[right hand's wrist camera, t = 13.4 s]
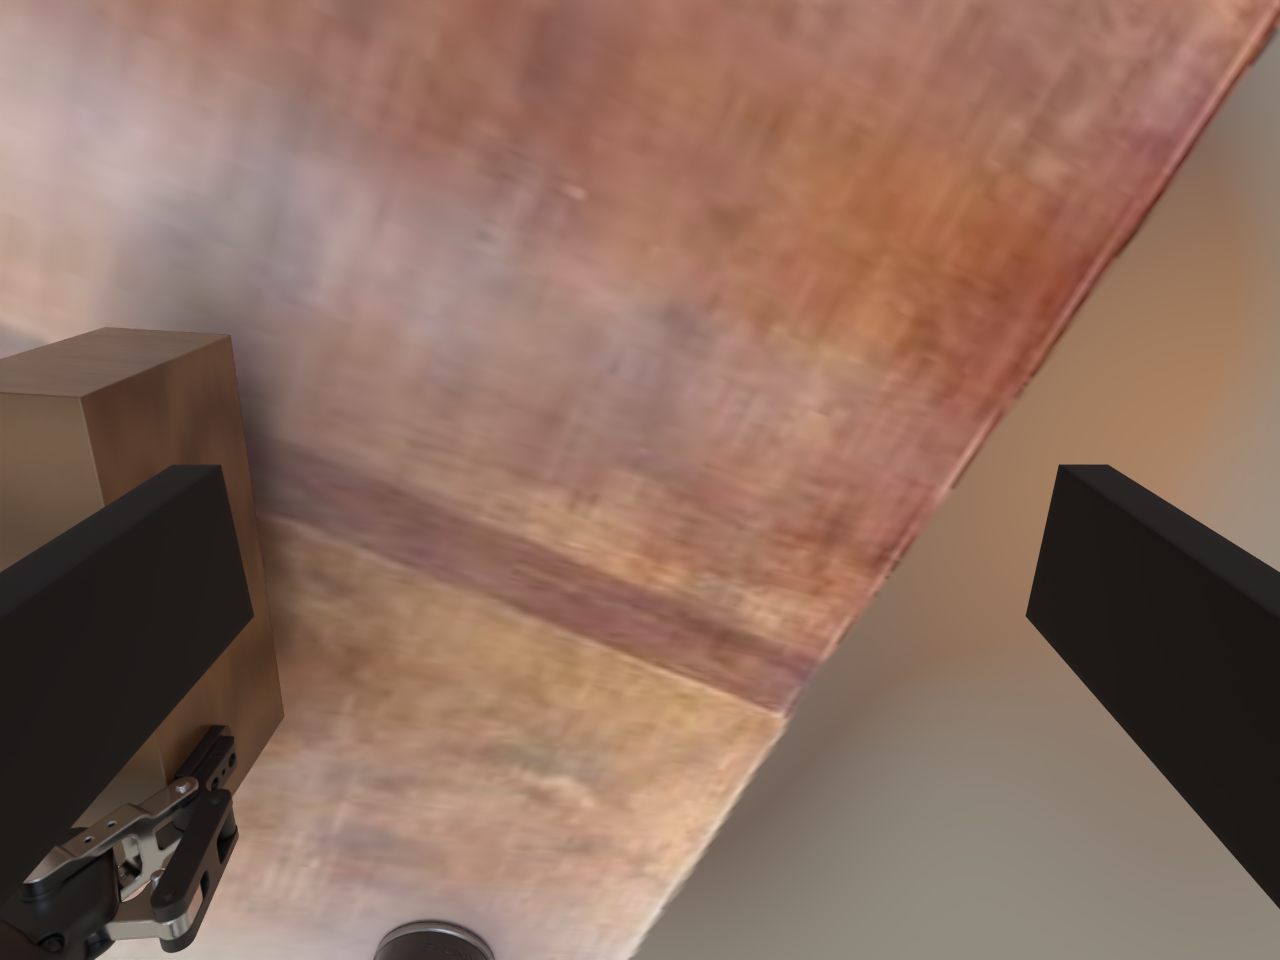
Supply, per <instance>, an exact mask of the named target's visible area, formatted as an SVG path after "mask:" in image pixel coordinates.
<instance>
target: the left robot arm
mask: <svg viewBox="0 0 1280 960" xmlns="http://www.w3.org/2000/svg"><path fill="white" fill-rule="evenodd" d="M237 764H238V755H237V749H236V743H235V737H234V736H232V735H231V729H230V727H229V726H228V725H213V726H212V727H211V728H210V729H209V730H208V732H207V733H206V734H205V736H204V737H203V738H202V740H201V741H200V742H199V743H198V745H197V746H196V747H195V749H194V750H193V751H192V753H191V754H190V755H189V757H188V758H187V759H186V760H185V762H184V763H183V764H182V766H181V767H180V768H179V770H178V771H177V772H176V774H175V775H174V776H175V781H173V782H172V783H170V784H169V785H167V786H166V787H164V788H163V789H162V790H160V791H159V792H157V793H156V794H154V795H153V796H151V797H150V798H148V799H147V800H145V801H144V802H142V803H141V804H139V805H133V804H131V803H128V804H124V805H122V806H121V807H119V808H118V809H116V810H115V811H113V812H112V813H110V814H109V815H107V816H106V817H104V818H103V819H101V820H100V821H98V822H96V823H95V824H93V825H92V826H90V827H77V828H70V829H69V830H68V831H67V833H66V834H65V835H64V836H63V837H62V838H61V840H60V841H59V842H58V843H57V844H56V845H55V846H54V848H53V849H52V850H51V851H50V852H49V853H48V855H47V856H46V857H45V858H44V859H43V860H42V861H41V863H40V864H39V865H38V866H37V867H36V868H35V870H34V871H33V872H32V873H31V874H30V875H29V876H28V878H27V879H26V880H25V881H24V882H23V883H22V884H21V886H20V887H19V888H18V889H17V890H16V891H15V893H14V894H13V895H12V896H11V897H10V898H9V899H8V901H7V902H6V903H5V904H4V905H3V906H2V908H1V909H0V960H95V959H96V958H97V957H99V956H100V955H101V954H103V953H104V952H105V951H106V950H108V949H109V948H110V947H111V946H112V945H113V944H114V942H115V941H116V940H126V939H140V938H155V937H158V938H159V939H160V943H161V947H162V949H163V950H164V951H165V952H168V953H174V952H178V951H181V950H183V949H185V948H186V947H188V946H189V945H190V944H191V943H192V942H193V940H194V939H195V937H196V934H197V932H198V930H199V928H200V925H201V923H202V921H203V918H204V916H205V914H206V911H207V909H208V907H209V904H210V902H211V900H212V898H213V895H214V893H215V891H216V888H217V886H218V884H219V881H220V879H221V877H222V875H223V872H224V870H225V868H226V865H227V863H228V861H229V858H230V856H231V854H232V851H233V849H234V847H235V845H236V842H237V840H238V837H239V834H238V829H237V825H236V824H235V818H234V813H233V807H232V805H233V801H232V796H231V792H230V791H229V790H227V789H222V788H223V787H224V785H225V784H226V782H227V780H228V779H229V778H230V776H231V774H232V773H233V772H234V770H235V769H236V767H237ZM170 815H171V816H172V821H171V822H169V823H168V824H167V825H165V826H164V827H162V828H161V829H160V830H158V831H157V832H155V829H156V827H157V825H158V824H159V823H160V822H162V821H163V820H165V819H166V818H167V817H169V816H170ZM120 841H122V843H123V847H124V851H125V859H124V861H123V863H122V864H121V866H120V867H119V868H118V865H117V862H116V858H115V854H114V850H113V846H114V845H116V844H117V843H119V842H120ZM173 852H174V853H173ZM172 853H173V855H172V857H171V859H170V861H169V863H168V865H167V867H166V869H165V871H164V870H160V869H161V868H162V865H163V862H164V860H165V859H166V858H167V857H168V856H169V855H170V854H172ZM150 879H151V882H150V883H148V885H147V886H146V887H145V888H144V890H143V891H142V892H141V893H140V894H139V895H138V896H136V897H135V898H133V899H131V900H128V901H125V902H122V901H123V900H124V899H126V898H127V897H128V896H130V895H131V894H132V893H133V892H135V891H136V890H137V889H139V888H140V887H141V886H143V885H144V884H145V883H147V882H148V881H149V880H150ZM374 960H494V958H493V955H492V953H491V951H490V950H489V948H488V947H487V946H486V945H485V944H484V943H483V942H482V941H481V940H480V939H479V938H478V937H476V936H475V935H473V934H472V933H470V932H468V931H466V930H464V929H461V928H459V927H456V926H453V925H448V924H443V923H435V922H424V923H415V924H410V925H407V926H404V927H401V928H399V929H397V930H395V931H393V932H391V933H390V934H389V935H387V936H386V937H385V938H384V939H383V940H382V941H381V943H380V944H379V946H378V948H377V950H376V953H375V956H374Z"/></svg>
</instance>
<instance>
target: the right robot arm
mask: <svg viewBox="0 0 1280 960" xmlns="http://www.w3.org/2000/svg"><path fill="white" fill-rule="evenodd" d="M253 617H254V612H253V608H252V603H251V599H250V594H249V590H248V585H247V581H246V576H245V571H244V567H243V562H242V558H241V553H240V549H239V544H238V540H237V535H236V530H235V526H234V521H233V517H232V512H231V508H230V503H229V499H228V494H227V490H226V485H225V480H224V476H223V471H222V467H221V465H171V466H169V467H168V468H166V469H164V470H163V471H161V472H160V473H158V474H156V475H155V476H153V477H152V478H150V479H148V480H147V481H145V482H144V483H142V484H140V485H139V486H137V487H136V488H134V489H132V490H131V491H129V492H128V493H126V494H124V495H123V496H121V497H120V498H118V499H117V500H115V501H113V502H112V503H110V504H109V505H107V506H105V507H104V508H102V509H101V510H99V511H97V512H96V513H94V514H93V515H91V516H89V517H88V518H86V519H85V520H83V521H81V522H80V523H78V524H77V525H75V526H73V527H72V528H70V529H69V530H67V531H65V532H64V533H62V534H61V535H59V536H57V537H56V538H54V539H53V540H51V541H49V542H48V543H46V544H45V545H43V546H42V547H40V548H38V549H37V550H35V551H34V552H32V553H30V554H29V555H27V556H26V557H24V558H22V559H21V560H19V561H18V562H16V563H14V564H13V565H11V566H10V567H8V568H6V569H5V570H3V571H2V572H0V909H1V908H2V906H3V905H4V904H5V903H6V902H7V901H8V899H9V898H10V897H11V896H12V895H13V894H14V893H15V891H16V890H17V889H18V888H19V887H20V886H21V884H22V883H23V882H24V881H25V880H26V879H27V878H28V876H29V875H30V874H31V873H32V872H33V871H34V870H35V868H36V867H37V866H38V865H39V864H40V863H41V861H42V860H43V859H44V858H45V857H46V856H47V855H48V853H49V852H50V851H51V850H52V849H53V848H54V846H55V845H56V844H57V843H58V842H59V841H60V840H61V838H62V837H63V836H64V835H65V834H66V833H67V831H68V830H69V829H70V828H71V827H72V826H73V825H74V823H75V822H76V821H77V820H78V819H79V818H80V816H81V815H82V814H83V813H84V812H85V811H86V810H87V808H88V807H89V806H90V805H91V804H92V803H93V801H94V800H95V799H96V798H97V797H98V796H99V795H100V793H101V792H102V791H103V790H104V789H105V788H106V787H107V785H108V784H109V783H110V782H111V781H112V780H113V778H114V777H115V776H116V775H117V774H118V773H119V772H120V770H121V769H122V768H123V767H124V766H125V765H126V763H127V762H128V761H129V760H130V759H131V758H132V757H133V755H134V754H135V753H136V752H137V751H138V750H139V748H140V747H141V746H142V745H143V744H144V743H145V742H146V740H147V739H148V738H149V737H150V736H151V735H152V733H153V732H154V731H155V730H156V729H157V728H158V727H159V725H160V724H161V723H162V722H163V721H164V720H165V718H166V717H167V716H168V715H169V714H170V713H171V712H172V710H173V709H174V708H175V707H176V706H177V705H178V703H179V702H180V701H181V700H182V699H183V698H184V697H185V695H186V694H187V693H188V692H189V691H190V690H191V689H192V687H193V686H194V685H195V684H196V683H197V682H198V680H199V679H200V678H201V677H202V676H203V675H204V674H205V672H206V671H207V670H208V669H209V668H210V667H211V665H212V664H213V663H214V662H215V661H216V660H217V659H218V657H219V656H220V655H221V654H222V653H223V652H224V650H225V649H226V648H227V647H228V646H229V645H230V644H231V642H232V641H233V640H234V639H235V638H236V637H237V635H238V634H239V633H240V632H241V631H242V630H243V629H244V627H245V626H246V625H247V624H248V623H249V622H250V620H251V619H252V618H253ZM1026 617H1027V618H1028V619H1029V620H1030V622H1031V623H1032V624H1033V625H1034V626H1035V627H1036V629H1037V630H1038V631H1039V632H1040V633H1041V634H1042V635H1043V637H1044V638H1045V639H1046V640H1047V641H1048V642H1049V644H1050V645H1051V646H1052V647H1053V648H1054V649H1055V650H1056V652H1057V653H1058V654H1059V655H1060V656H1061V657H1062V659H1063V660H1064V661H1065V662H1066V663H1067V664H1068V665H1069V667H1070V668H1071V669H1072V670H1073V671H1074V672H1075V674H1076V675H1077V676H1078V677H1079V678H1080V679H1081V680H1082V682H1083V683H1084V684H1085V685H1086V686H1087V687H1088V689H1089V690H1090V691H1091V692H1092V693H1093V694H1094V695H1095V697H1096V698H1097V699H1098V700H1099V701H1100V702H1101V703H1102V705H1103V706H1104V707H1105V708H1106V709H1107V710H1108V712H1109V713H1110V714H1111V715H1112V716H1113V717H1114V718H1115V720H1116V721H1117V722H1118V723H1119V724H1120V725H1121V727H1122V728H1123V729H1124V730H1125V731H1126V732H1127V733H1128V735H1129V736H1130V737H1131V738H1132V739H1133V740H1134V742H1135V743H1136V744H1137V745H1138V746H1139V747H1140V748H1141V750H1142V751H1143V752H1144V753H1145V754H1146V755H1147V757H1148V758H1149V759H1150V760H1151V761H1152V762H1153V763H1154V765H1155V766H1156V767H1157V768H1158V769H1159V770H1160V771H1161V773H1162V774H1163V775H1164V776H1165V777H1166V778H1167V780H1168V781H1169V782H1170V783H1171V784H1172V785H1173V787H1174V788H1175V789H1176V790H1177V791H1178V792H1179V793H1180V795H1181V796H1182V797H1183V798H1184V799H1185V800H1186V801H1187V803H1188V804H1189V805H1190V806H1191V807H1192V808H1193V809H1194V811H1195V812H1196V813H1197V814H1198V815H1199V816H1200V818H1201V819H1202V820H1203V821H1204V822H1205V823H1206V824H1207V826H1208V827H1209V828H1210V829H1211V830H1212V831H1213V833H1214V834H1215V835H1216V836H1217V837H1218V838H1219V839H1220V841H1221V842H1222V843H1223V844H1224V845H1225V846H1226V848H1227V849H1228V850H1229V851H1230V852H1231V853H1232V855H1233V856H1234V857H1235V858H1236V859H1237V860H1238V861H1239V863H1240V864H1241V865H1242V866H1243V867H1244V868H1245V870H1246V871H1247V872H1248V873H1249V874H1250V875H1251V876H1252V878H1253V879H1254V880H1255V881H1256V882H1257V883H1258V884H1259V886H1260V887H1261V888H1262V889H1263V890H1264V891H1265V893H1266V894H1267V895H1268V896H1269V897H1270V898H1271V899H1272V901H1273V902H1274V903H1275V904H1276V905H1277V906H1278V908H1279V909H1280V572H1278V571H1277V570H1275V569H1274V568H1272V567H1270V566H1269V565H1267V564H1266V563H1264V562H1262V561H1261V560H1259V559H1258V558H1256V557H1254V556H1253V555H1251V554H1250V553H1248V552H1246V551H1245V550H1243V549H1242V548H1240V547H1238V546H1237V545H1235V544H1234V543H1232V542H1231V541H1229V540H1227V539H1226V538H1224V537H1223V536H1221V535H1219V534H1218V533H1216V532H1215V531H1213V530H1211V529H1210V528H1208V527H1207V526H1205V525H1203V524H1202V523H1200V522H1199V521H1197V520H1195V519H1194V518H1192V517H1191V516H1189V515H1187V514H1186V513H1184V512H1183V511H1181V510H1179V509H1178V508H1176V507H1175V506H1173V505H1171V504H1170V503H1168V502H1167V501H1165V500H1163V499H1162V498H1160V497H1159V496H1157V495H1156V494H1154V493H1152V492H1151V491H1149V490H1147V489H1146V488H1144V487H1143V486H1141V485H1139V484H1138V483H1136V482H1135V481H1133V480H1132V479H1130V478H1128V477H1127V476H1125V475H1124V474H1122V473H1120V472H1119V471H1117V470H1116V469H1114V468H1112V467H1111V466H1109V465H1059V467H1058V471H1057V476H1056V480H1055V485H1054V490H1053V494H1052V499H1051V503H1050V508H1049V512H1048V517H1047V521H1046V526H1045V530H1044V535H1043V540H1042V544H1041V549H1040V553H1039V558H1038V562H1037V567H1036V571H1035V576H1034V581H1033V585H1032V590H1031V594H1030V599H1029V604H1028V608H1027V613H1026Z"/></svg>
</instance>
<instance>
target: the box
mask: <svg viewBox="0 0 1280 960" xmlns="http://www.w3.org/2000/svg"><path fill="white" fill-rule="evenodd" d="M171 465H221V467H222V471H223V476H224V480H225V485H226V490H227V494H228V499H229V503H230V508H231V512H232V517H233V521H234V526H235V530H236V535H237V540H238V544H239V549H240V553H241V558H242V562H243V567H244V571H245V576H246V581H247V585H248V590H249V594H250V599H251V603H252V608H253V612H254V617H253V618H252V619H251V620H250V622H249V623H248V624H247V625H246V626H245V627H244V629H243V630H242V631H241V632H240V633H239V634H238V635H237V637H236V638H235V639H234V640H233V641H232V642H231V644H230V645H229V646H228V647H227V648H226V649H225V650H224V652H223V653H222V654H221V655H220V656H219V657H218V659H217V660H216V661H215V662H214V663H213V664H212V665H211V667H210V668H209V669H208V670H207V671H206V672H205V674H204V675H203V676H202V677H201V678H200V679H199V680H198V682H197V683H196V684H195V685H194V686H193V687H192V689H191V690H190V691H189V692H188V693H187V694H186V695H185V697H184V698H183V699H182V700H181V701H180V702H179V703H178V705H177V706H176V707H175V708H174V709H173V710H172V712H171V713H170V714H169V715H168V716H167V717H166V718H165V720H164V721H163V722H162V723H161V724H160V725H159V727H158V728H157V729H156V730H155V731H154V732H153V733H152V735H151V736H150V737H149V738H148V739H147V740H146V742H145V743H144V744H143V745H142V746H141V747H140V748H139V750H138V751H137V752H136V753H135V754H134V755H133V757H132V758H131V759H130V760H129V761H128V762H127V763H126V765H125V766H124V767H123V768H122V769H121V770H120V772H119V773H118V774H117V775H116V776H115V777H114V778H113V780H112V781H111V782H110V783H109V784H108V785H107V787H106V788H105V789H104V790H103V791H102V792H101V793H100V795H99V796H98V797H97V798H96V799H95V800H94V801H93V803H92V804H91V805H90V806H89V807H88V808H87V810H86V811H85V812H84V813H83V814H82V815H81V816H80V818H79V819H78V820H77V821H76V822H75V823H74V825H73V826H72V827H71V828H77V827H90V826H92V825H93V824H95V823H96V822H98V821H100V820H101V819H103V818H104V817H106V816H107V815H109V814H110V813H112V812H113V811H115V810H116V809H118V808H119V807H121V806H122V805H124V804H128V803H131V804H133V805H139V804H141V803H142V802H144V801H145V800H147V799H148V798H150V797H151V796H153V795H154V794H156V793H157V792H159V791H160V790H162V789H163V788H164V787H166V786H167V785H169V784H170V783H172V782H173V781H175V776H174V775H175V774H176V772H177V771H178V770H179V768H180V767H181V766H182V764H183V763H184V762H185V760H186V759H187V758H188V757H189V755H190V754H191V753H192V751H193V750H194V749H195V747H196V746H197V745H198V743H199V742H200V741H201V740H202V738H203V737H204V736H205V734H206V733H207V732H208V730H209V729H210V728H211V727H212V726H213V725H228V726H229V727H230V729H231V735H232V736H234V737H235V743H236V749H237V755H238V764H237V767H236V769H235V770H234V772H233V773H232V774H231V776H230V778H229V779H228V780H227V782H226V784H225V785H224V787H223V788H222V789H227V790H229V791H230V792H231V796H232V797H233V795H234V794H235V792H236V791H237V789H238V788H239V786H240V784H241V783H242V781H243V780H244V778H245V777H246V775H247V774H248V772H249V771H250V769H251V767H252V766H253V764H254V763H255V761H256V760H257V758H258V757H259V755H260V753H261V752H262V750H263V749H264V747H265V746H266V744H267V743H268V741H269V739H270V738H271V736H272V735H273V733H274V732H275V730H276V729H277V727H278V725H279V724H280V722H281V721H282V719H283V718H284V711H283V704H282V697H281V690H280V683H279V676H278V669H277V661H276V654H275V647H274V640H273V633H272V626H271V619H270V612H269V605H268V598H267V591H266V584H265V576H264V569H263V562H262V555H261V548H260V541H259V534H258V527H257V520H256V513H255V506H254V498H253V491H252V484H251V477H250V470H249V463H248V456H247V449H246V442H245V435H244V428H243V421H242V413H241V406H240V399H239V392H238V385H237V378H236V371H235V364H234V357H233V350H232V343H231V336H230V335H221V334H205V333H189V332H174V331H158V330H142V329H126V328H110V327H105V328H101V329H98V330H95V331H92V332H88V333H85V334H82V335H78V336H75V337H72V338H69V339H65V340H62V341H59V342H55V343H52V344H49V345H46V346H42V347H39V348H36V349H32V350H29V351H26V352H23V353H19V354H16V355H13V356H10V357H6V358H3V359H0V572H2V571H3V570H5V569H6V568H8V567H10V566H11V565H13V564H14V563H16V562H18V561H19V560H21V559H22V558H24V557H26V556H27V555H29V554H30V553H32V552H34V551H35V550H37V549H38V548H40V547H42V546H43V545H45V544H46V543H48V542H49V541H51V540H53V539H54V538H56V537H57V536H59V535H61V534H62V533H64V532H65V531H67V530H69V529H70V528H72V527H73V526H75V525H77V524H78V523H80V522H81V521H83V520H85V519H86V518H88V517H89V516H91V515H93V514H94V513H96V512H97V511H99V510H101V509H102V508H104V507H105V506H107V505H109V504H110V503H112V502H113V501H115V500H117V499H118V498H120V497H121V496H123V495H124V494H126V493H128V492H129V491H131V490H132V489H134V488H136V487H137V486H139V485H140V484H142V483H144V482H145V481H147V480H148V479H150V478H152V477H153V476H155V475H156V474H158V473H160V472H161V471H163V470H164V469H166V468H168V467H169V466H171ZM171 821H172V816H171V815H170V816H169V817H167V818H166V819H165V820H163V821H162V822H160V823H159V824H158V825H157V827H156V829H155V832H157V831H158V830H160V829H161V828H162V827H164V826H165V825H167V824H168V823H169V822H171ZM113 850H114V854H115V858H116V862H117V865H118V866H121V864H122V863H123V861H124V859H125V851H124V847H123V843H122V841H120V842H119V843H117V844H116V845H114V846H113ZM173 853H174V852H173ZM173 853H172V854H170V855H169V856H168V857H167V858H166V859H165V860H164V862H163V865H162V868H166V867H167V865H168V863H169V861H170V859H171V857H172V855H173Z"/></svg>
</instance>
